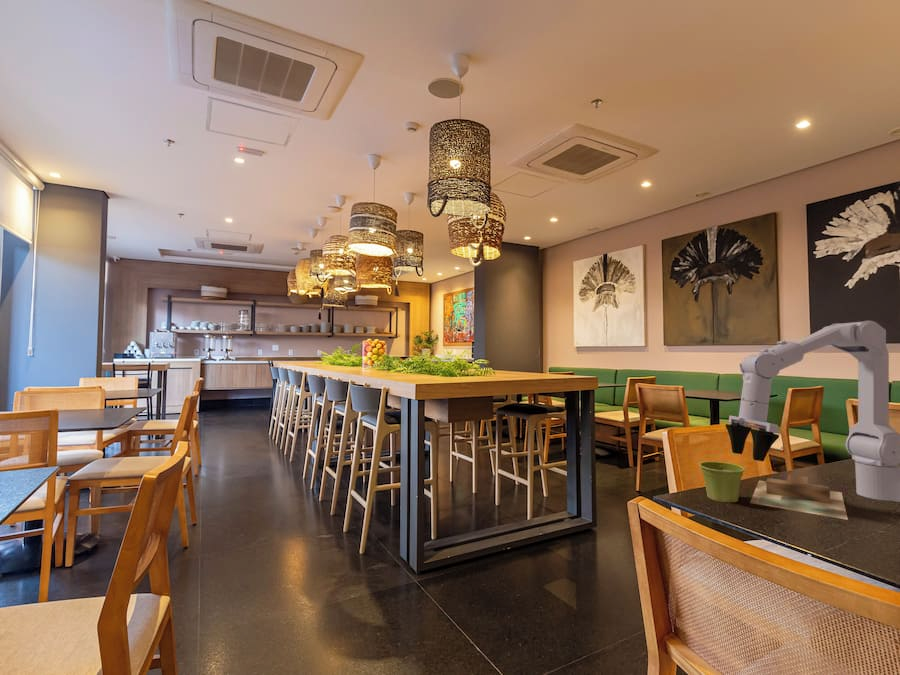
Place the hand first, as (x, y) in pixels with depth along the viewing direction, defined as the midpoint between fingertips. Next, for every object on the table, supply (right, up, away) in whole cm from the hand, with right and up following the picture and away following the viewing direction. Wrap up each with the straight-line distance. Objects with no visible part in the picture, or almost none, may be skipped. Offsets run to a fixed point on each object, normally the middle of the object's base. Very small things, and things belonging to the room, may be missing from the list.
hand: (747, 456), depth 107 cm
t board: (+11, -10, -1) cm, 15 cm away
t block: (+14, -10, +2) cm, 17 cm away
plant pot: (-7, -11, -2) cm, 13 cm away
